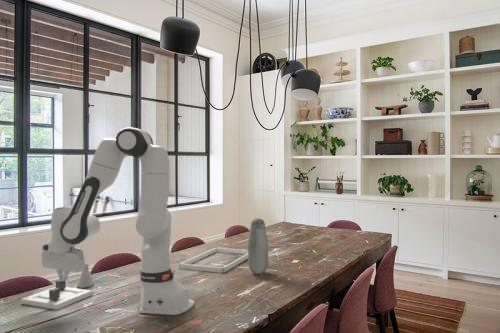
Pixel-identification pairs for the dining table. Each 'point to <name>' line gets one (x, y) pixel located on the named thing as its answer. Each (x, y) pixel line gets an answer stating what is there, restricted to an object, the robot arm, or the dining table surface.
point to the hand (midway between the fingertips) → (63, 280)
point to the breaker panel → (65, 299)
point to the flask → (85, 278)
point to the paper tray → (214, 269)
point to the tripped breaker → (54, 294)
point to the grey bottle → (258, 247)
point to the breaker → (60, 284)
